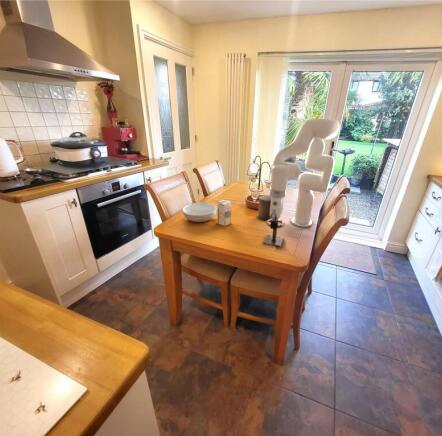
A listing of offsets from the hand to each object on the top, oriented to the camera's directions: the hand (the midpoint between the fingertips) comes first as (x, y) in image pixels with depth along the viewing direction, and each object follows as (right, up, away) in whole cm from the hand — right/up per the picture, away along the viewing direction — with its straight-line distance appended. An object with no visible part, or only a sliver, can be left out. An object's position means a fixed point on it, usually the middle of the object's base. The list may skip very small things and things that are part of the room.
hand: (274, 227), depth 116 cm
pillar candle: (-1, +5, +36) cm, 36 cm away
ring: (+1, +2, +3) cm, 4 cm away
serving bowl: (-42, +4, +31) cm, 53 cm away
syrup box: (-27, +1, +25) cm, 37 cm away
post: (+1, -8, +8) cm, 11 cm away
